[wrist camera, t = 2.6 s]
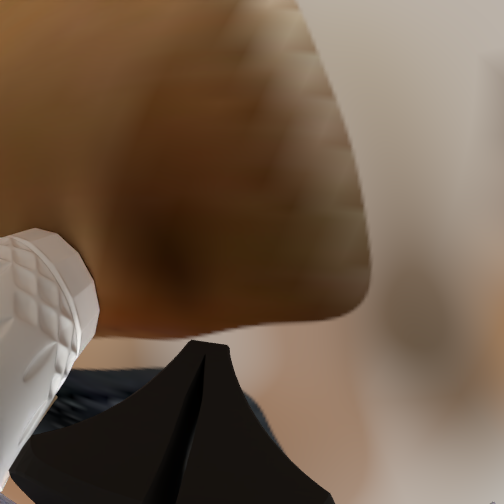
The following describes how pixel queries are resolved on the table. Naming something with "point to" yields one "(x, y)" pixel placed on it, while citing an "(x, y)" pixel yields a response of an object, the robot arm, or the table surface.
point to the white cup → (38, 330)
